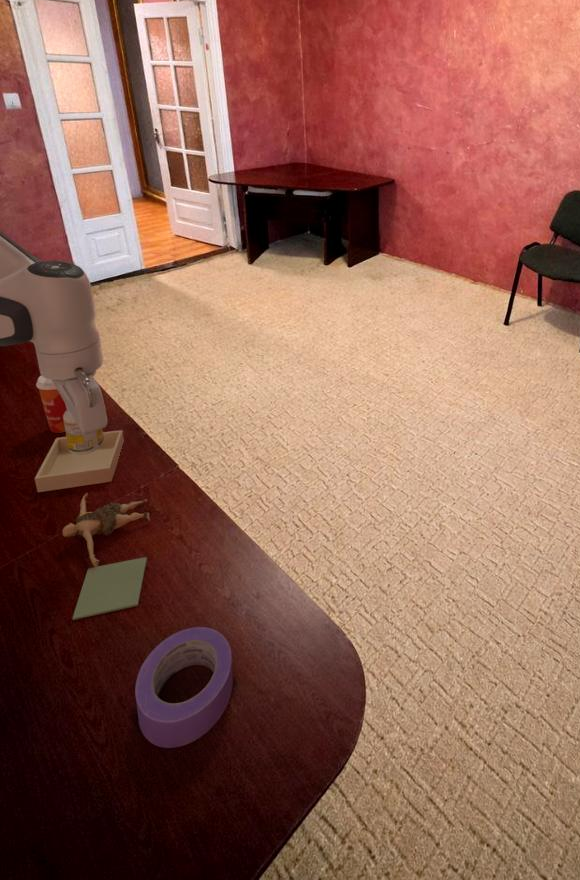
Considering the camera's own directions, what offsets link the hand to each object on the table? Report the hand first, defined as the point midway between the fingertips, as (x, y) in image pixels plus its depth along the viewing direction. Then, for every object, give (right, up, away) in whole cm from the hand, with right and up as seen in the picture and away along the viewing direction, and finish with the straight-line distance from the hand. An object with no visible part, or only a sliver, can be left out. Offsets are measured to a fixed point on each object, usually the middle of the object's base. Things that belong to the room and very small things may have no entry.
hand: (83, 428), depth 84 cm
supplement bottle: (0, -4, +1) cm, 4 cm away
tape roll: (+26, -31, -18) cm, 45 cm away
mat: (+8, -25, -5) cm, 26 cm away
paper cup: (-26, -10, +33) cm, 43 cm away
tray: (-14, -15, +21) cm, 29 cm away
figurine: (+1, -21, +6) cm, 22 cm away
